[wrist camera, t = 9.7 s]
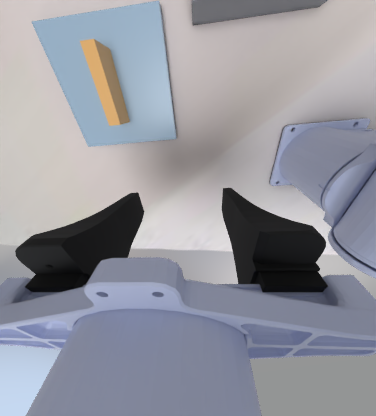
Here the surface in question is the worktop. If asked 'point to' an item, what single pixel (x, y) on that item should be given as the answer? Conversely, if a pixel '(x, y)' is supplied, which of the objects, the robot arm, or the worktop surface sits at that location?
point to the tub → (244, 8)
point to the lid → (113, 72)
